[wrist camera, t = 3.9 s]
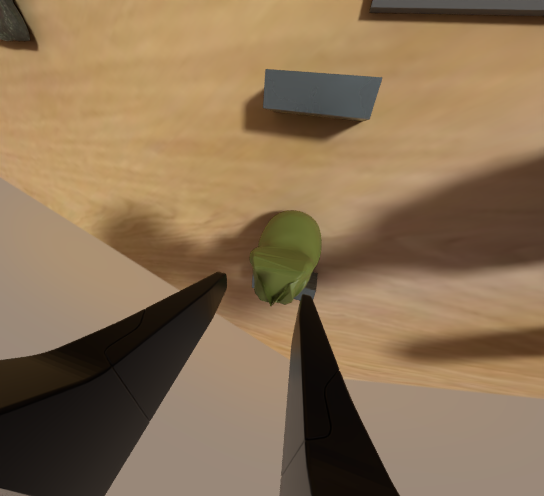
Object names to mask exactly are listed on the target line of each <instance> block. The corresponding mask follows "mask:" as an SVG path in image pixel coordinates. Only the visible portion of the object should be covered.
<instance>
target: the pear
mask: <svg viewBox="0 0 544 496" xmlns="http://www.w3.org/2000/svg"><path fill="white" fill-rule="evenodd" d="M320 254H321V233H320V229H319V226H318V224H317V223H316V221H315V220H314V219H313V218H312V217H311V216H309V215H308V214H306V213H303V212H300V211H294V210H290V211H284V212H281V213H279V214H277V215H275V216H274V217H273V218H272V219H271V220H270V221H269V223H268V224H267V226H266V227H265V229H264V231H263V233H262V235H261V237H260V240H259V244H258V248H255V249H253V250H252V251H251V253H250V263H251V265H252V267H253V276H254V283H255V284H254V290H255V294H256V295H257V296H258V297H259V299H260V300H261V301H265V302H269V304H270V306H272V305H273V304H274V303H275V302H278V303H281V304H284V305H286V304H288V303H291V302H292V300H293V298H294V297H296V296H297V295H298V294H299V293H300V292H301V291H302V290H303V289H304V288H305V286H306V285H307V283H308V281H309V279H310V276H311V273H312V272H313V269H314V268H315V266H316V265H317V263H318V261H319V258H320ZM273 301H274V302H273ZM272 303H273V304H272Z"/></svg>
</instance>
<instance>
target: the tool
mask: <svg viewBox="0 0 544 496" xmlns="http://www.w3.org/2000/svg"><path fill="white" fill-rule="evenodd" d="M0 39H2V40H5V41H13V40H16V41H30V36H29V32H28V29H27V27H26V25H25V23H24V20H23V18H22V16H21V15H20V13H19V12H18V10H17V8H16V7H15V5H14V3H13V0H0Z"/></svg>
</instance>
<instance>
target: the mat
mask: <svg viewBox="0 0 544 496" xmlns="http://www.w3.org/2000/svg"><path fill="white" fill-rule="evenodd" d="M370 12H371V13H421V14H470V15H520V16H544V0H372V4H371V8H370Z"/></svg>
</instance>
